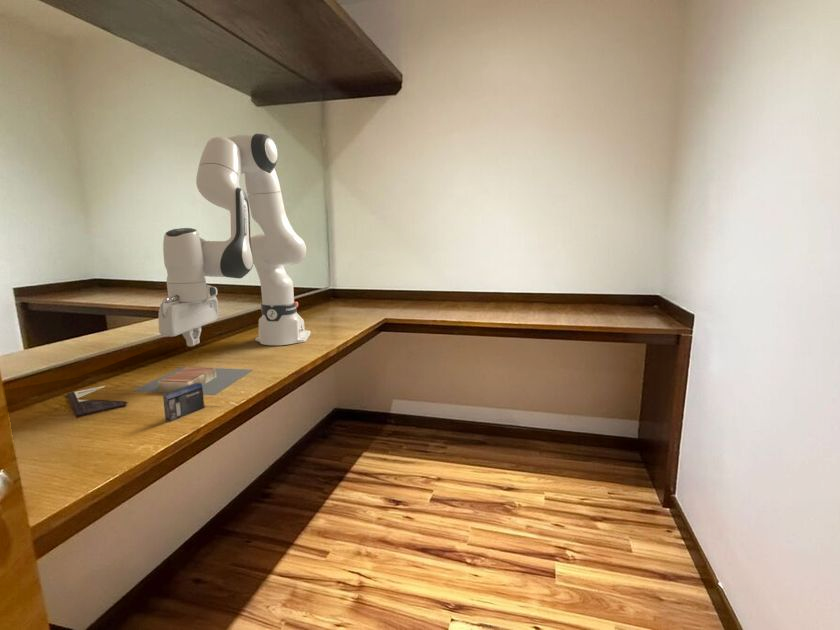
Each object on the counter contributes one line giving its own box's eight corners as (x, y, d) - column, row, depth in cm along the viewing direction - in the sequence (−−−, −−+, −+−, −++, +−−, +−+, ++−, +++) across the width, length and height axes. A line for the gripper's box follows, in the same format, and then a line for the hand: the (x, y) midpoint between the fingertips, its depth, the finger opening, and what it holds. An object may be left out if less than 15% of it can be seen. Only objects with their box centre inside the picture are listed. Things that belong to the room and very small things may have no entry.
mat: (182, 368, 127) (181, 366, 127) (254, 371, 125) (253, 369, 125) (130, 393, 107) (130, 391, 107) (215, 397, 105) (215, 394, 105)
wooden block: (187, 366, 118) (157, 380, 107) (215, 367, 118) (188, 382, 106) (188, 375, 119) (158, 391, 107) (216, 377, 118) (189, 392, 106)
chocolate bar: (76, 415, 93) (67, 393, 106) (76, 419, 94) (67, 396, 106) (125, 404, 99) (111, 384, 112) (126, 408, 100) (112, 388, 112)
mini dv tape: (170, 422, 92) (167, 395, 91) (165, 420, 92) (162, 393, 91) (204, 408, 99) (202, 383, 98) (199, 407, 100) (197, 382, 99)
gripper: (173, 299, 101) (179, 356, 103) (220, 287, 121) (225, 335, 123) (147, 299, 101) (154, 356, 104) (199, 287, 121) (204, 335, 124)
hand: (193, 345), depth 114 cm, fingers closed
